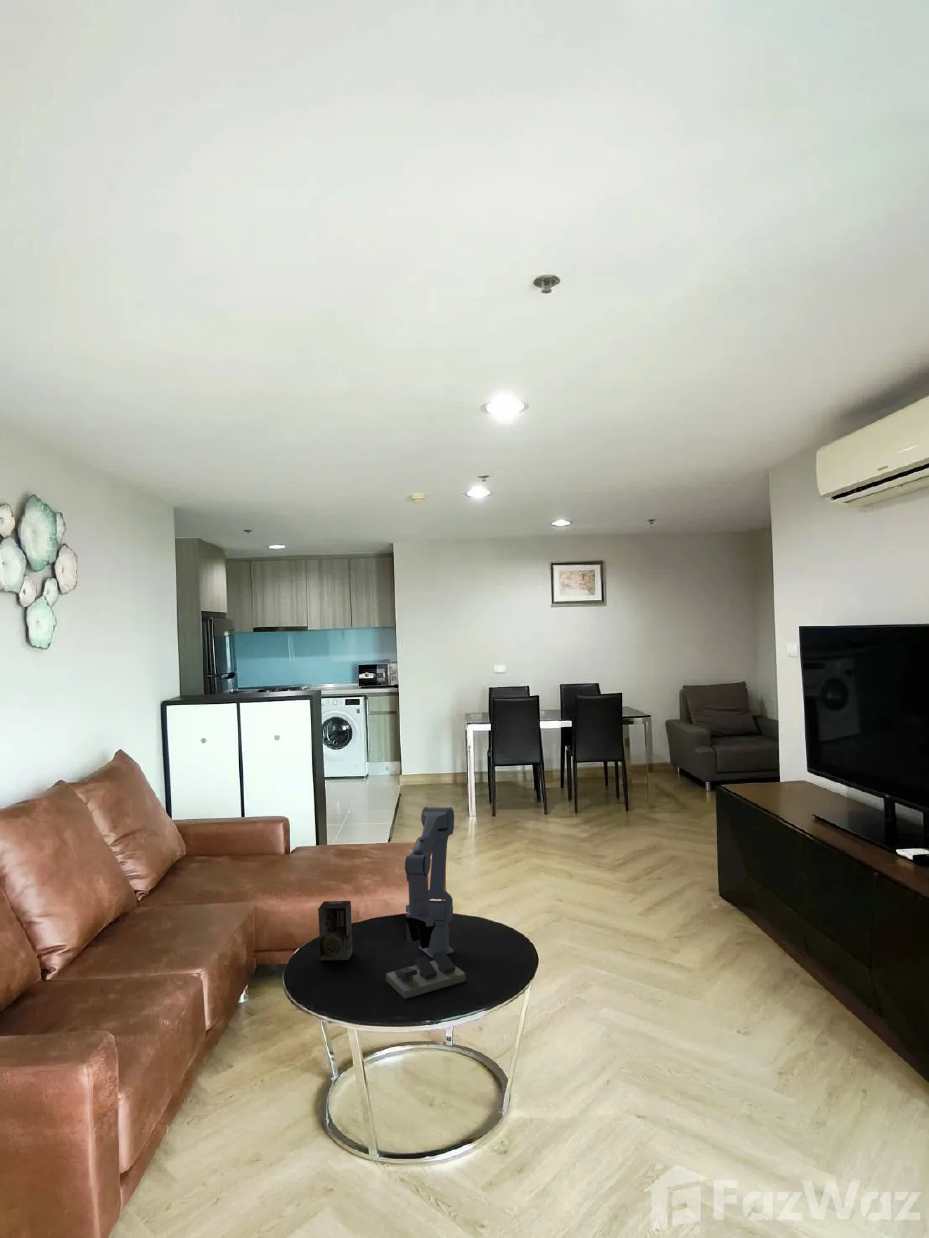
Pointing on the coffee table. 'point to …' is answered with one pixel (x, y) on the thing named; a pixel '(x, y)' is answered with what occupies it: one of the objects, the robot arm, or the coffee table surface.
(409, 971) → the block
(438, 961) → the rocker back
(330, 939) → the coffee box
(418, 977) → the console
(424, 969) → the rocker mid
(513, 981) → the coffee table surface
